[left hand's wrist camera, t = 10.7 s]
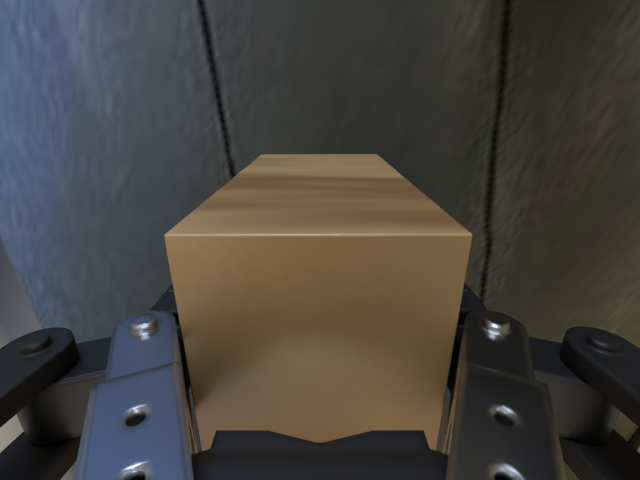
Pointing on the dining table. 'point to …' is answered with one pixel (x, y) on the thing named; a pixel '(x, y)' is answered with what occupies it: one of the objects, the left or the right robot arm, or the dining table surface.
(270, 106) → the dining table surface
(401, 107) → the dining table surface
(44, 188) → the dining table surface
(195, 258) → the box
